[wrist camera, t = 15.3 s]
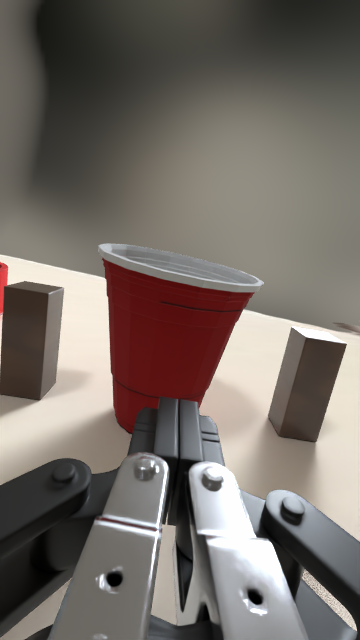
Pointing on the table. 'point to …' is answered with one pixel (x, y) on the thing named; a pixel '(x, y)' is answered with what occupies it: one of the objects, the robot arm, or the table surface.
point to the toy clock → (2, 283)
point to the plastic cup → (167, 324)
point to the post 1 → (30, 339)
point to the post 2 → (305, 383)
